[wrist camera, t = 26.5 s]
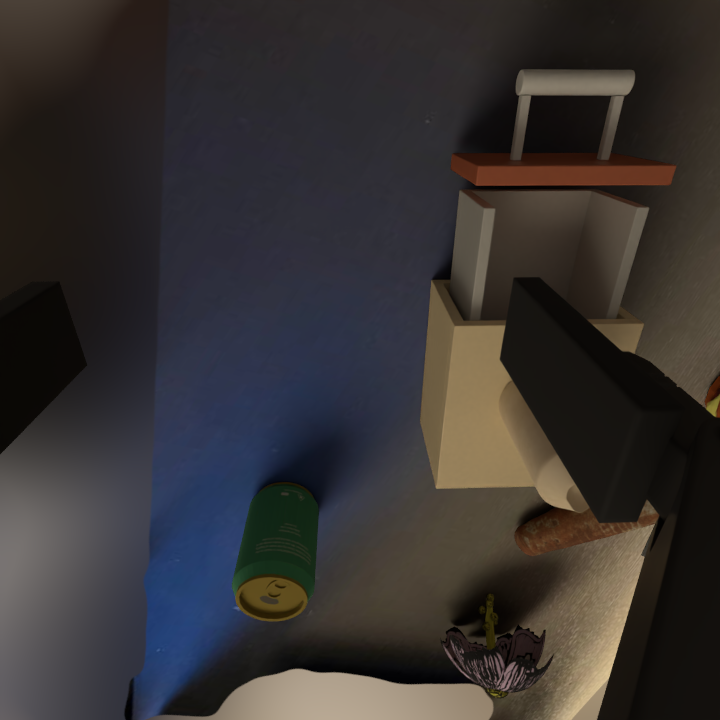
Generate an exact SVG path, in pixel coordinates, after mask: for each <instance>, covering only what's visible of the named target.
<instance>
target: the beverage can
mask: <svg viewBox="0 0 720 720" xmlns="http://www.w3.org/2000/svg"><path fill="white" fill-rule="evenodd" d="M318 516H319V509H318V505H317V503H316V501H315V500H314V497H313V496H312V494H311V493H310V492H309V491H308V490H307V489H306V488H304V487H302V486H300V485H298V484H295V483H290V482H278V483H273V484H270V485H268V486H266V487H264V488H263V489H262V490H261V491H260V492H259V493H258V494H257V495H256V496H255V497H254V498H253V499H252V501H251V503H250V508H249V512H248V516H247V521H246V525H245V529H244V534H243V538H242V542H241V547H240V551H239V555H238V560H237V564H236V568H235V573H234V577H233V582H232V589H233V592H234V594H235V596H236V604H237V605H238V607H239V608H240V610H241V611H243V612H244V613H245V614H247V615H248V616H251V617H253V618H256V619H259V620H264V621H282V620H287V619H290V618H293V617H295V616H297V615H298V614H300V613H301V612H302V611H303V610H304V609H305V607H306V605H307V602H308V601H309V599H310V598H311V596H312V595H313V592H314V585H315V568H316V551H317V533H318Z"/></svg>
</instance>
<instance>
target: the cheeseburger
mask: <svg viewBox="0 0 720 720" xmlns="http://www.w3.org/2000/svg"><path fill="white" fill-rule="evenodd" d="M705 404H706V410H708V411H709V412H710V413H711V414H712V415H713V416H715V417H720V376H719V377H718V378H717V379H716V381H715V382H714V383H713V384H712V386H711V387H710V388H709V391H708V394H707V397H706V400H705Z"/></svg>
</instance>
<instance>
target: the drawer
mask: <svg viewBox="0 0 720 720" xmlns="http://www.w3.org/2000/svg"><path fill="white" fill-rule="evenodd" d="M634 81H635V73H634V71H633V70H568V69H522V70H520V72H519V74H518V77H517V81H516V94H517V95H520V96H519V101H518V108H517V114H516V121H515V128H514V134H513V141H512V148H511V153H453V154H452V160H451V170H452V171H454V172H456V173H457V174H459V175H460V176H462V177H464V178H465V179H467V180H468V181H470V182H472V183H473V184H475V185H476V186H530V185H670V184H671V182H672V179H673V176H674V172H675V169H676V165H673V164H668V163H663V162H657V161H652V160H647V159H642V158H636V157H631V156H626V155H621V154H615V153H610V152H611V148H612V144H613V140H614V136H615V132H616V128H617V124H618V120H619V116H620V112H621V108H622V104H623V99H624V96H625V95H627V94H628V93H629V92H630V91H631V89H632V87H633V85H634ZM531 95H603V96H611V99H610V104H609V108H608V112H607V117H606V121H605V125H604V129H603V134H602V138H601V142H600V147H599V151H598V153H522V150H523V144H524V137H525V131H526V125H527V119H528V112H529V106H530V100H531ZM648 210H649V207H647V206H644V205H641V204H638V203H635V202H633V201H630V200H627V199H624V198H621V197H618V196H615V195H612V194H609V193H606V192H603V191H600V190H598V189H469V190H460V192H459V202H458V211H457V221H456V231H455V241H454V250H453V260H452V270H451V280H450V289H449V295H450V297H451V299H452V301H453V302H454V304H455V306H456V308H457V310H458V312H459V313H460V315H461V317H462V319H463V321H487V320H506V319H507V313H508V307H509V301H510V295H511V289H512V284H513V278H514V277H540V278H541V279H542V280H543V281H544V282H545V283H546V284H548V285H549V286H550V287H551V288H552V289H553V290H554V291H555V292H557V293H558V294H559V295H560V296H561V297H562V298H563V299H564V300H565V301H567V302H568V303H569V304H570V305H571V306H572V307H573V308H574V309H576V310H577V311H578V312H579V313H580V314H581V315H582V316H583V317H584V318H586V319H616V317H617V314H618V311H619V307H620V304H621V301H622V297H623V294H624V291H625V287H626V284H627V281H628V277H629V274H630V271H631V267H632V264H633V261H634V257H635V254H636V251H637V247H638V244H639V241H640V237H641V234H642V231H643V227H644V224H645V221H646V217H647V214H648Z"/></svg>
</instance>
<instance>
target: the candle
mask: <svg viewBox="0 0 720 720" xmlns="http://www.w3.org/2000/svg"><path fill="white" fill-rule="evenodd" d="M499 412H500V416H501V418H502V420H503V422H504V424H505V426H506V428H507V430H508V432H509V434H510V436H511V438H512V440H513V442H514V444H515V446H516V448H517V450H518V452H519V454H520V456H521V459H522V461H523V463H524V465H525V467H526V469H527V471H528V473H529V475H530V477H531V479H532V481H533V483H534V485H535V487H536V489H537V491H538V493H539V495H540V496H541V497H542V499H543V500H544V501H545V502H547V503H548V504H550V505H552V506H555V507H558V508H563V509H568V510H572V511H575V512H578V513H581V512H584V511H585V510H587V509H588V508H589V506H588V504H587V503H586V501H585V499H584V498H583V496H582V494H581V493H580V491H579V489H578V488H577V486H576V484H575V483H574V481H573V479H572V478H571V476H570V475H569V473H568V471H567V470H566V468H565V466H564V465H563V463H562V461H561V460H560V458H559V456H558V455H557V453H556V451H555V450H554V448H553V447H552V445H551V443H550V442H549V440H548V438H547V437H546V435H545V433H544V432H543V430H542V428H541V427H540V425H539V423H538V422H537V420H536V419H535V417H534V415H533V414H532V412H531V410H530V409H529V407H528V405H527V404H526V402H525V400H524V399H523V397H522V395H521V394H520V392H519V390H518V389H517V387H516V386H515V384H514V382H513V381H512V382H511V383H509V384H508V385H507V387H506V388H505V389H504V390H503V392H502V394H501V396H500V399H499Z"/></svg>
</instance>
